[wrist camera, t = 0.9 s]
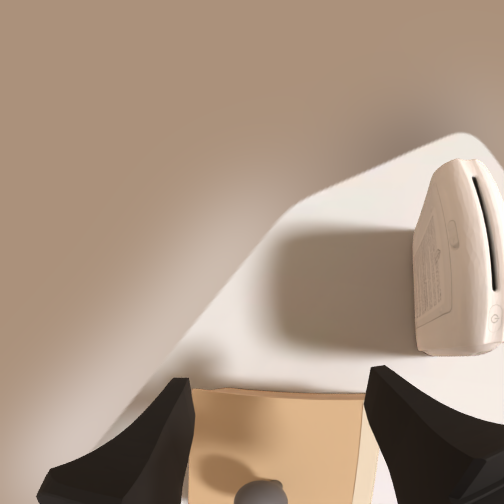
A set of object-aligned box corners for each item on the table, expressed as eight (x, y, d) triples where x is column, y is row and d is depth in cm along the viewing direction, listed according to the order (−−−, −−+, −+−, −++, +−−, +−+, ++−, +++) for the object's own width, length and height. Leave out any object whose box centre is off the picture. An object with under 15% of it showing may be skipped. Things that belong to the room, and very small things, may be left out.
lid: (358, 557, 13) (352, 598, 8) (192, 532, 17) (155, 558, 12) (382, 398, 17) (389, 411, 12) (196, 388, 21) (153, 392, 16)
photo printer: (462, 355, 20) (539, 347, 9) (411, 359, 21) (456, 358, 10) (454, 229, 23) (500, 139, 12) (407, 231, 24) (429, 138, 13)
